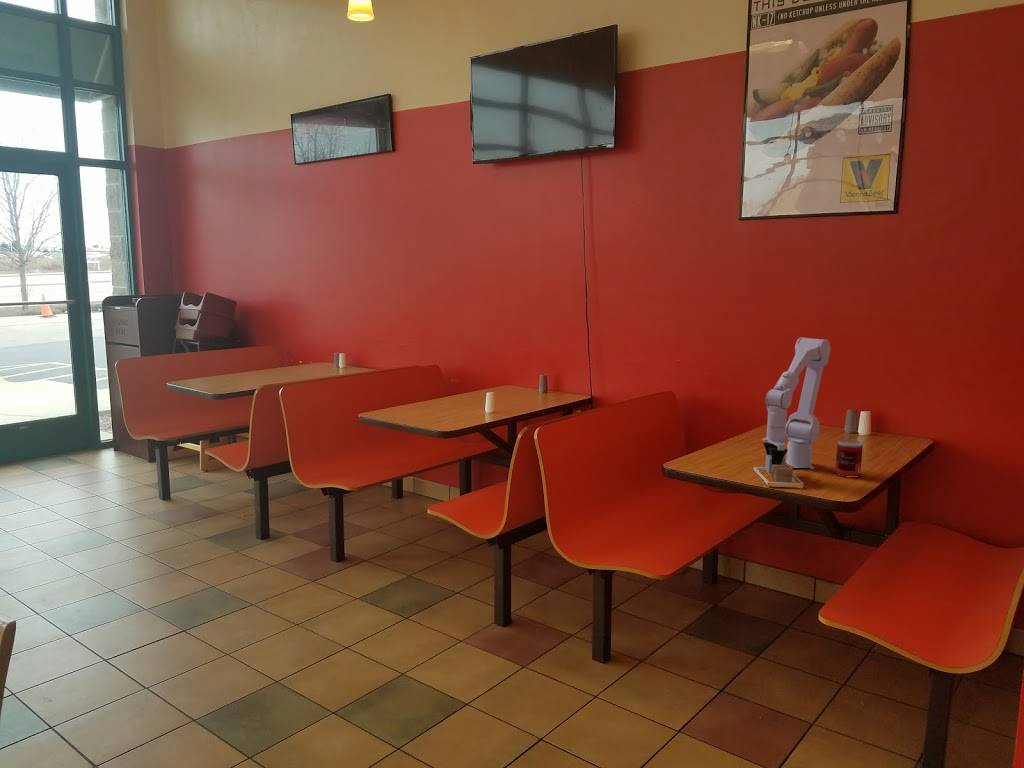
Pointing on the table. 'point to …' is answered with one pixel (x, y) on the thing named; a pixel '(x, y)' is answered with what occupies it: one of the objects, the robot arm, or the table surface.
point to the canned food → (849, 457)
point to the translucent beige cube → (782, 473)
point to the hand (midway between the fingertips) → (773, 466)
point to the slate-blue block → (769, 463)
